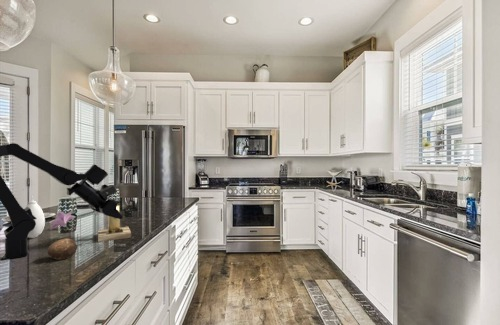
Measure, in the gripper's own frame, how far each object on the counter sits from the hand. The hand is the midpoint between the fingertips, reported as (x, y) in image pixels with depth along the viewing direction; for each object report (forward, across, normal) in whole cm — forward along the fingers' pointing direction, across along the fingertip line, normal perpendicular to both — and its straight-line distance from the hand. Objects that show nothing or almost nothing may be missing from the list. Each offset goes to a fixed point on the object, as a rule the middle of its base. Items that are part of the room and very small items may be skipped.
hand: (117, 216), depth 112 cm
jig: (+5, 0, +7) cm, 8 cm away
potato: (-10, -14, +22) cm, 27 cm away
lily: (-4, +31, +16) cm, 35 cm away
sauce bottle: (-12, +23, +24) cm, 36 cm away
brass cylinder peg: (+5, 0, +7) cm, 8 cm away
